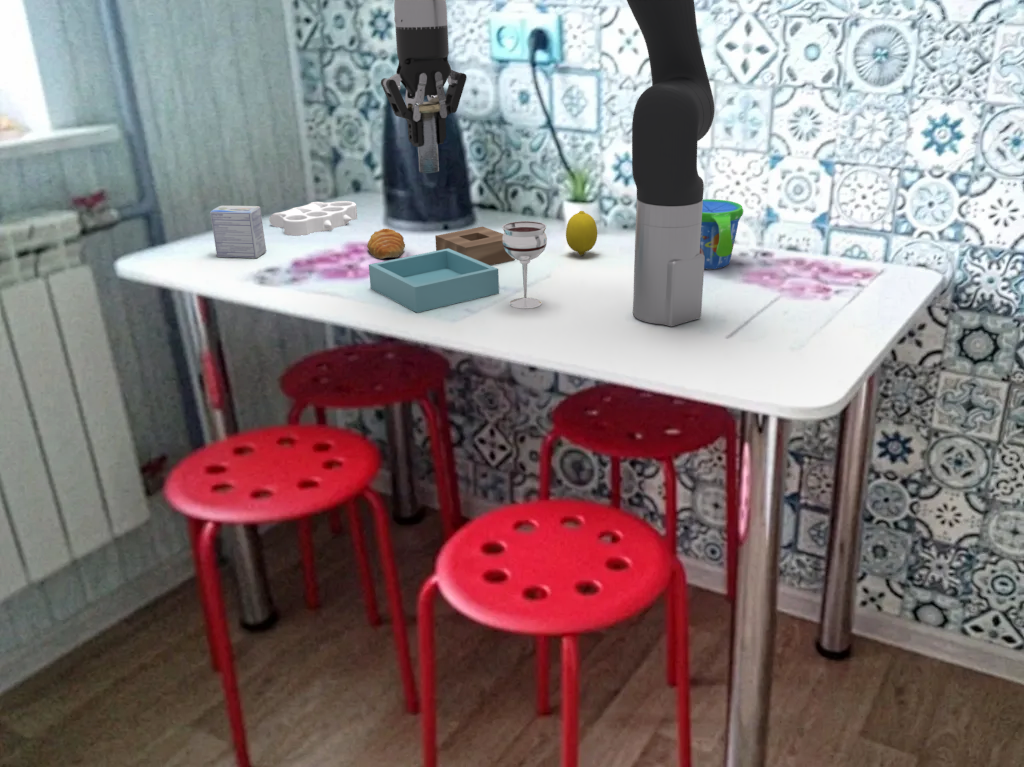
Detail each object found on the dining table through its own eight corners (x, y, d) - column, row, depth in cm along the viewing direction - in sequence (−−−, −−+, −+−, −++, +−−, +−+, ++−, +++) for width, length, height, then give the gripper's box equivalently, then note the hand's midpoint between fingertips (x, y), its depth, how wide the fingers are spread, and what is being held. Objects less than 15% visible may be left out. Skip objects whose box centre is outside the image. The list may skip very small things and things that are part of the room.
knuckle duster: (321, 212, 207) (373, 220, 199) (258, 231, 193) (310, 241, 186) (320, 196, 206) (371, 204, 198) (255, 214, 192) (308, 224, 184)
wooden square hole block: (514, 259, 170) (514, 237, 168) (466, 270, 165) (465, 247, 163) (483, 247, 178) (482, 226, 176) (436, 257, 172) (435, 235, 171)
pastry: (408, 259, 172) (407, 239, 171) (370, 263, 171) (368, 242, 169) (403, 246, 181) (401, 226, 179) (366, 249, 179) (364, 229, 178)
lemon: (585, 261, 168) (586, 216, 165) (559, 256, 171) (559, 212, 168) (602, 254, 172) (603, 209, 169) (577, 249, 175) (577, 205, 172)
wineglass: (550, 297, 151) (550, 221, 146) (543, 311, 145) (542, 233, 140) (508, 295, 152) (506, 220, 148) (499, 309, 146) (497, 231, 141)
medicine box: (267, 252, 178) (261, 205, 174) (257, 259, 174) (251, 211, 170) (227, 251, 179) (220, 204, 176) (216, 257, 175) (209, 210, 172)
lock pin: (448, 171, 147) (445, 103, 143) (423, 175, 145) (419, 106, 141) (434, 167, 151) (431, 101, 147) (409, 170, 149) (405, 103, 145)
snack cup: (667, 252, 172) (669, 196, 168) (725, 250, 173) (729, 194, 169) (686, 279, 158) (689, 218, 154) (749, 277, 158) (754, 215, 154)
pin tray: (499, 293, 153) (498, 268, 152) (416, 312, 146) (415, 287, 144) (449, 271, 165) (448, 248, 163) (370, 288, 157) (368, 264, 155)
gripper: (389, 27, 133) (398, 153, 140) (476, 21, 140) (480, 142, 147) (365, 24, 139) (375, 146, 146) (449, 19, 146) (455, 136, 153)
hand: (428, 144), depth 146 cm, fingers closed on lock pin, 3 cm apart
